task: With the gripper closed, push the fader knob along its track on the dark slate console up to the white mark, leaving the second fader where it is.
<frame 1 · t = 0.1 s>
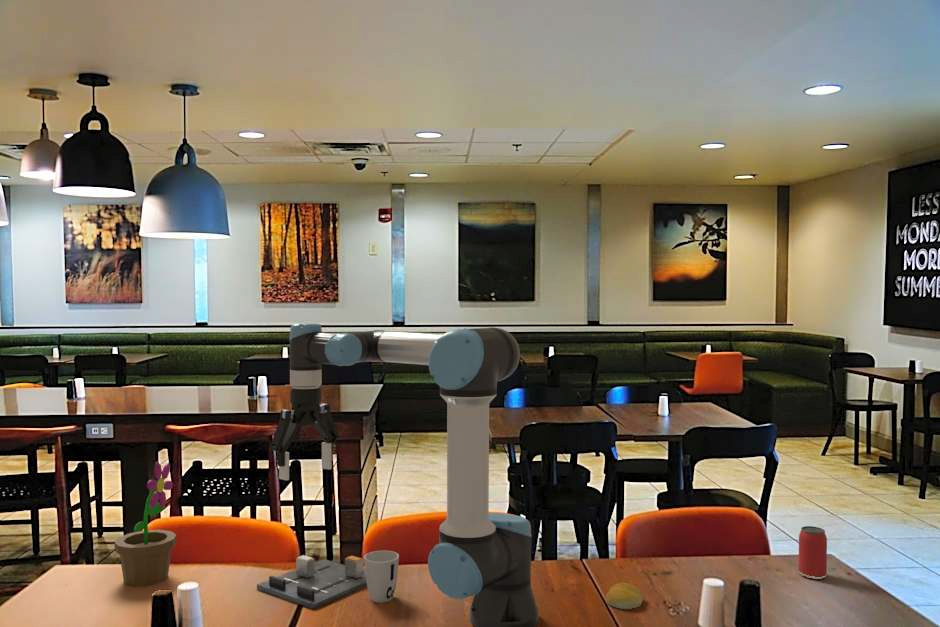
hand: (306, 474, 185), 28 cm above the table, fingers open, 13 cm apart
console: (319, 584, 188), on the table
cup: (381, 599, 180), on the table
near fader: (353, 566, 190), point 4 cm above the table, slide at 0.0 cm
far fader: (305, 566, 190), point 4 cm above the table, slide at 7.0 cm
beer can: (812, 576, 195), on the table
flowerpot: (146, 579, 191), on the table
bread roll: (623, 603, 178), on the table
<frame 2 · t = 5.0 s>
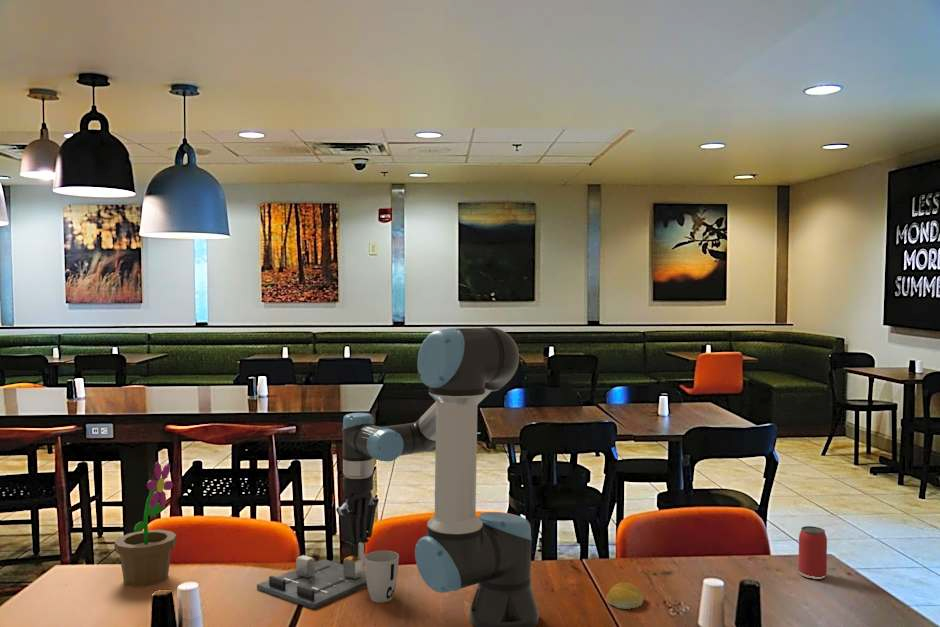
hand: (358, 568, 192), 3 cm above the table, fingers closed
near fader: (352, 567, 190), point 4 cm above the table, slide at 0.5 cm, touching gripper
everything else where it was.
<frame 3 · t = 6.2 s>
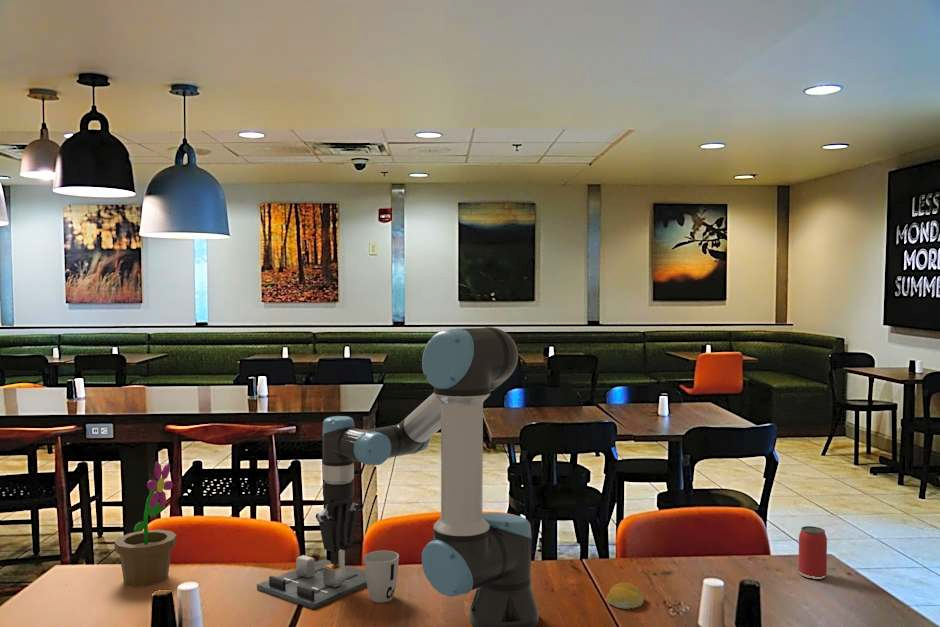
hand: (338, 576, 186), 3 cm above the table, fingers closed
near fader: (332, 575, 184), point 4 cm above the table, slide at 7.2 cm, touching gripper
everything else where it was.
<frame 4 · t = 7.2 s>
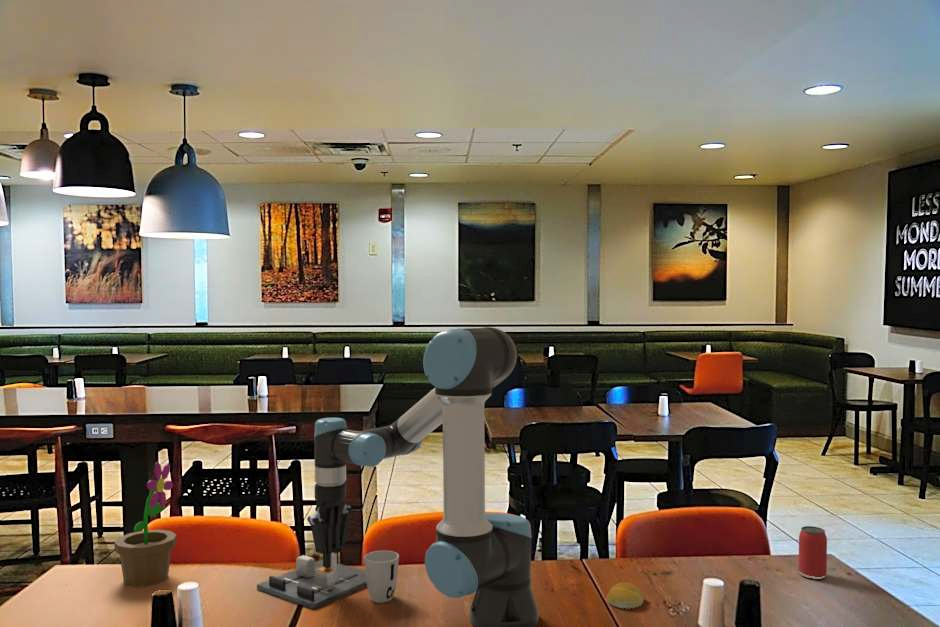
hand: (330, 579, 184), 3 cm above the table, fingers closed
near fader: (324, 578, 182), point 4 cm above the table, slide at 9.9 cm, touching gripper
everything else where it was.
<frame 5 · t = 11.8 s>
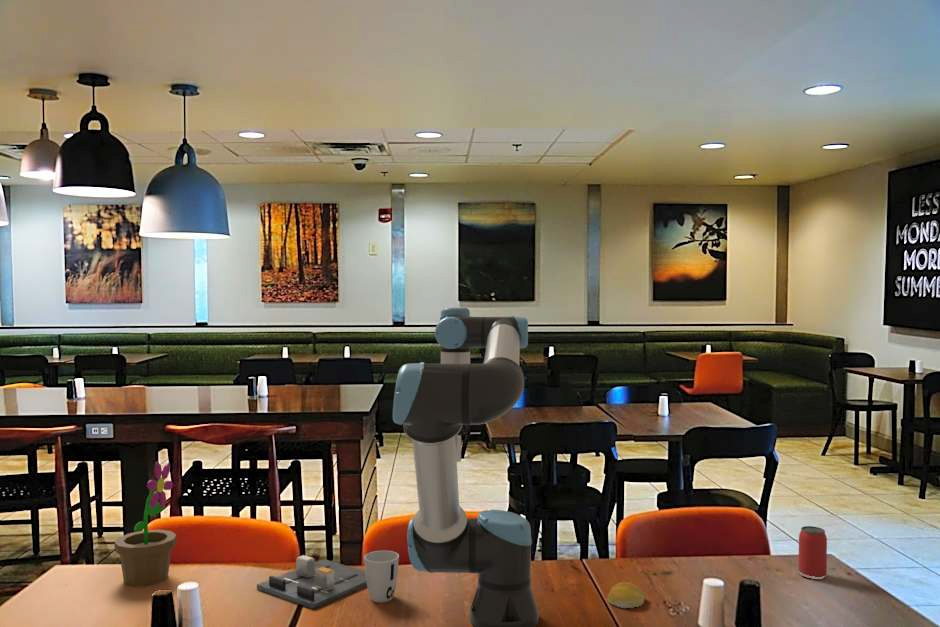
hand: (455, 460, 194), 29 cm above the table, fingers closed
near fader: (324, 578, 182), point 4 cm above the table, slide at 9.9 cm
everything else where it was.
at the end: near fader slide at 9.9 cm; far fader slide at 7.0 cm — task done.
